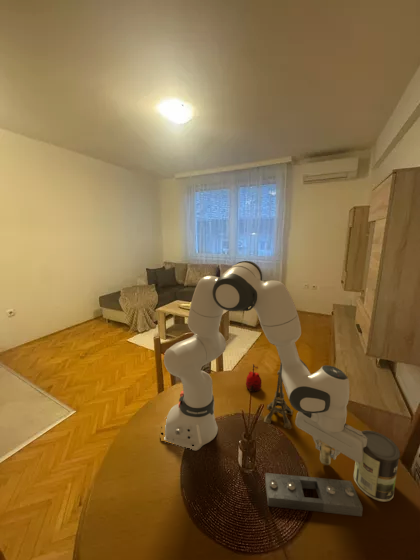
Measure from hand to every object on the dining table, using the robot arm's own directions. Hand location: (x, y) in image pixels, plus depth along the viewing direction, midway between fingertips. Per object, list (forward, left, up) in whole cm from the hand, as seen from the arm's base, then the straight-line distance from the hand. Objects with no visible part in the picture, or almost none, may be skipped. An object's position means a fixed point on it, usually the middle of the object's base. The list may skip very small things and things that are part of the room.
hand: (325, 452), depth 78 cm
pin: (0, 0, -3) cm, 3 cm away
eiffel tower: (-12, +20, -5) cm, 24 cm away
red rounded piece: (-21, +37, -5) cm, 43 cm away
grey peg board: (-8, -11, -5) cm, 14 cm away
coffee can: (+12, -5, -5) cm, 14 cm away
